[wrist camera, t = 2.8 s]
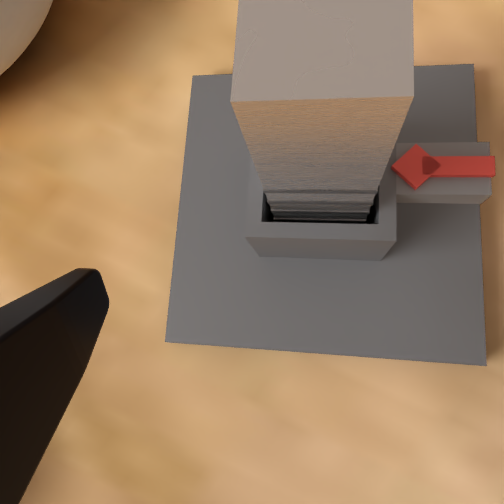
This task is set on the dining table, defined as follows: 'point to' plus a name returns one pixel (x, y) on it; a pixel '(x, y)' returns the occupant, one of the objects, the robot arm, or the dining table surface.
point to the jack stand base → (337, 241)
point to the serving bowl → (19, 27)
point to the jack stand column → (322, 100)
